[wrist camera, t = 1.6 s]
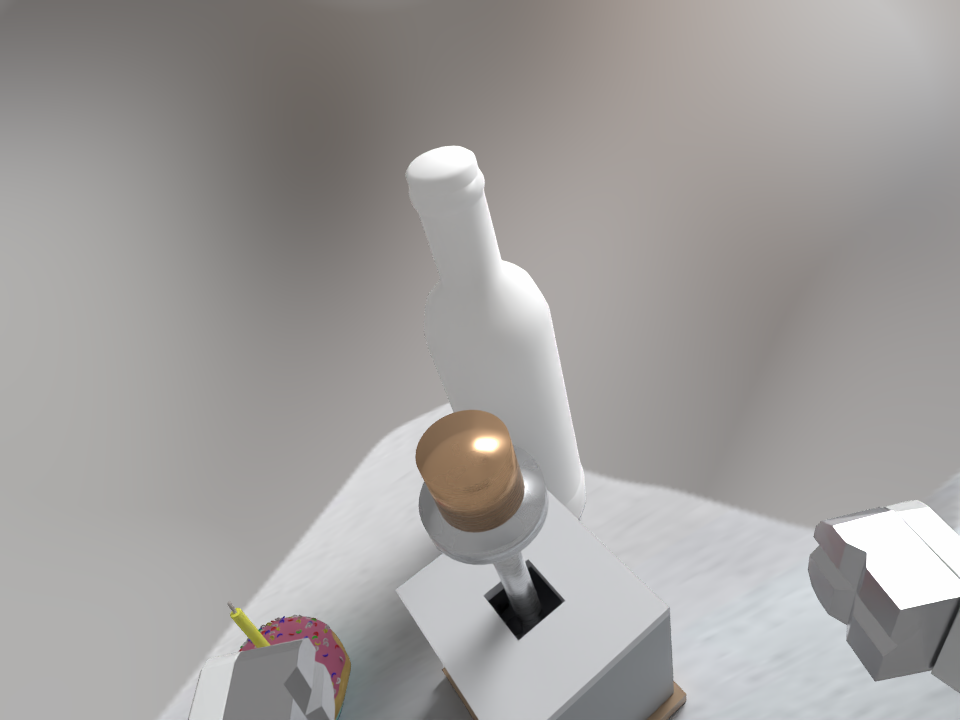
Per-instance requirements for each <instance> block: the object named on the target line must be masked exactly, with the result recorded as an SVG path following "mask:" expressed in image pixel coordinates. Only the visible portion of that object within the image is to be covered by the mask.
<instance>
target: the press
mask: <svg viewBox="0 0 960 720" xmlns="http://www.w3.org/2000/svg"><path fill="white" fill-rule="evenodd" d="M547 492H548V498H549V507H548V513H547V517H546V520H545V523H544V525H543V527H542V529H541V530H540V532H539V533H538V535H537V536H536V538H535V539H534V540H533V541H532V542H531V543H530V544H529V545H528V546H527V547H526V548H525V549H523V550H522V551H521V553H522V555H523V558H524V561H525V563H526V566H527V569H528V568H530V567H532V568H533V569H534V570H535V572H536V573H537V574H538V575H539V576H540V577H541V578H542V579H543V581H544V582H545V583H546V584H547V585H548V586H549V587H550V588H551V590H552V591H553V592H554V593H555V594H556V595H557V596H558V598H559V599H560V600H561V601H562V602H563V603H562V604H561V605H560V606H559V607H557V608H556V609H555V610H554V611H553V612H552V613H550V614H549V615H548V616H547V617H546V618H544V619H543V620H542V621H541V622H540V623H539V624H537V625H536V626H535V627H534V628H533V629H532V630H530V631H529V632H528V633H527V634H526V635H525V636H523V637H522V638H521V639H520V640H519V641H518V640H517V638H516V637H515V636H514V634H513V633H512V632H511V631H510V629H509V628H508V627H507V625H506V624H505V623H504V622H503V620H502V619H501V618H500V616H499V615H498V614H497V612H496V611H495V610H494V609H493V607H492V606H491V605H490V603H489V602H488V601H489V600H490V599H491V598H493V597H494V596H495V595H496V594H498V593H499V592H500V591H501V590H503V589H504V587H503V585H502V583H501V580H500V578H499V576H498V573H497V571H496V569H495V567H494V564H485V565H473V564H466V563H462V562H458V561H456V560H453V559H451V558H450V557H448V556H446V555H445V554H444V553H443V554H441V555H440V556H439V557H437V558H436V559H435V560H433V561H432V562H431V563H430V564H428V565H427V566H426V567H424V568H423V569H422V570H420V571H419V572H418V573H416V574H415V575H414V576H413V577H411V578H410V579H409V580H407V581H406V582H405V583H403V584H402V585H401V586H399V587H398V588H397V589H396V590H395V591H396V592H397V594H398V595H399V597H400V598H401V600H402V601H403V603H404V605H405V606H406V608H407V609H408V611H409V612H410V614H411V615H412V617H413V619H414V620H415V622H416V623H417V625H418V626H419V628H420V629H421V631H422V632H423V634H424V636H425V637H426V639H427V640H428V642H429V643H430V645H431V646H432V648H433V650H434V651H435V653H436V654H437V656H438V657H439V659H440V660H441V662H442V664H443V665H444V667H445V668H443V669H442V670H443V672H444V674H445V675H446V677H447V678H448V680H449V681H450V683H451V685H452V686H453V688H454V689H455V691H456V692H457V694H458V696H459V697H460V699H461V700H462V702H463V703H464V705H465V707H466V708H467V710H468V711H469V713H470V714H471V716H472V717H473V719H474V720H668V719H669V718H670V717H671V716H672V715H673V714H674V713H675V712H676V711H677V710H678V709H679V708H680V707H681V706H682V705H683V704H684V703H685V702H686V693H685V692H684V691H683V690H682V689H681V688H680V687H679V686H678V685H677V684H676V683H675V682H674V681H673V665H672V645H671V626H670V607H669V606H668V605H667V604H666V603H665V602H664V601H663V600H661V599H660V598H659V597H658V596H657V595H656V594H655V593H654V592H653V591H652V590H651V589H650V588H649V587H648V586H647V585H646V584H645V583H644V582H643V581H642V580H641V579H640V578H639V577H638V576H637V575H635V574H634V573H633V572H632V571H631V570H630V569H629V568H628V567H627V566H626V565H625V564H624V563H623V562H622V561H621V560H620V559H619V558H618V557H617V556H616V555H615V554H614V553H613V552H612V551H611V550H609V549H608V548H607V547H606V546H605V545H604V544H603V543H602V542H601V541H600V540H599V539H598V538H597V537H596V536H595V535H594V534H593V533H592V532H591V531H590V530H589V529H588V528H587V527H586V526H584V525H583V524H582V523H581V522H580V521H579V520H578V519H577V518H576V517H575V516H574V515H573V514H572V513H571V512H570V511H569V510H568V509H567V508H566V507H565V506H564V505H563V504H562V503H561V502H560V501H558V500H557V499H556V498H555V497H554V496H553V495H552V494H551V493H550V492H549V491H548V490H547Z"/></svg>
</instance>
